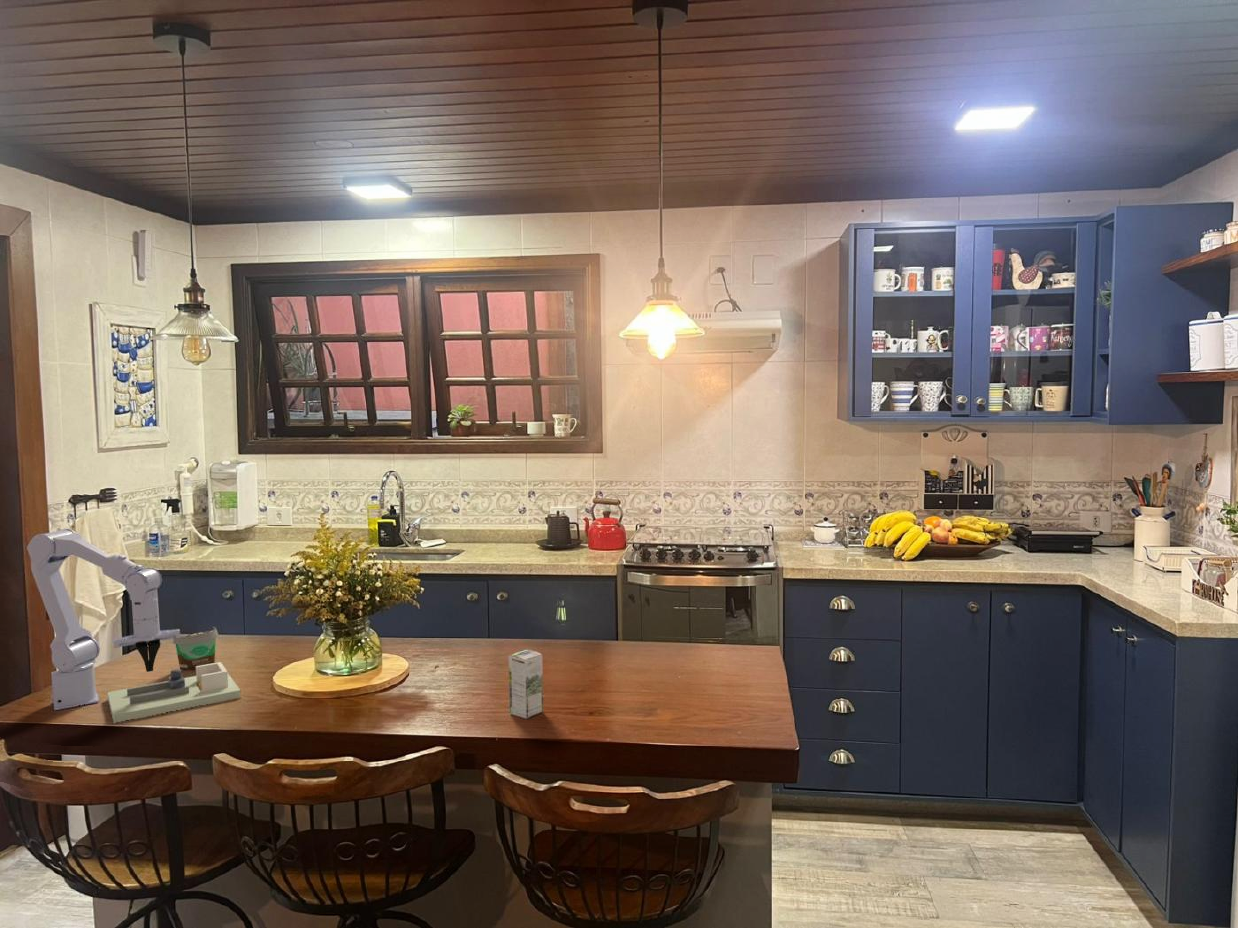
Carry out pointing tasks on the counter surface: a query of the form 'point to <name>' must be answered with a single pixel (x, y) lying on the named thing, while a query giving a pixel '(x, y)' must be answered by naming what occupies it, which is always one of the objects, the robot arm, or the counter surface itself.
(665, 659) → the counter surface
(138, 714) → the board
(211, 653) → the food container
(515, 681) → the syrup box
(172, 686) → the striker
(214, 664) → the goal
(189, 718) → the counter surface
